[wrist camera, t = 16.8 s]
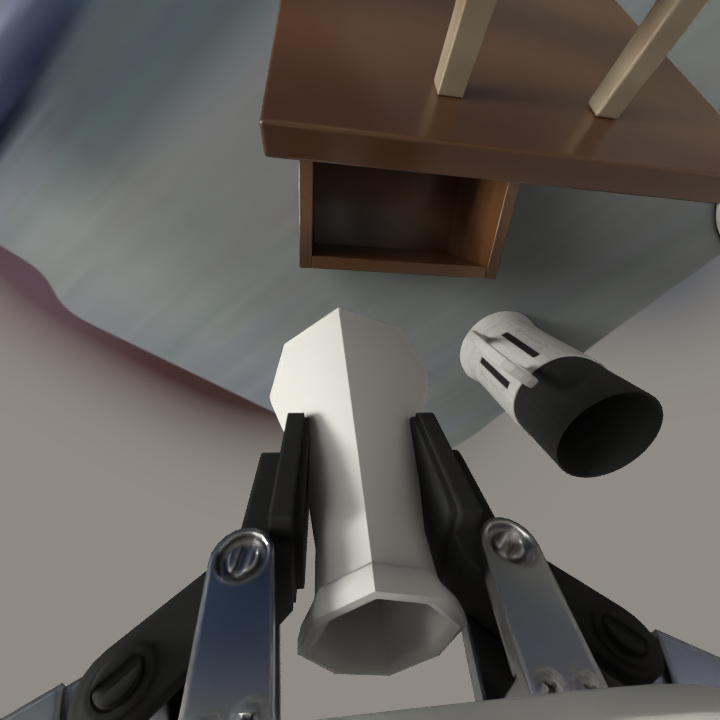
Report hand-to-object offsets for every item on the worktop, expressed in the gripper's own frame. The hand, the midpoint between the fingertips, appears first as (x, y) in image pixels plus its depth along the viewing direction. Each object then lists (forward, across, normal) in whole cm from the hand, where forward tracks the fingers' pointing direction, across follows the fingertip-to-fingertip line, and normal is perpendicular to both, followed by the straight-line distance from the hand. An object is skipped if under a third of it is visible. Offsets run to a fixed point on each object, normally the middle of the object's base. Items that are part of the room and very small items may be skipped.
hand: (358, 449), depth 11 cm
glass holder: (+22, -16, +4) cm, 27 cm away
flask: (+5, 0, 0) cm, 5 cm away
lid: (+7, -4, -13) cm, 15 cm away
